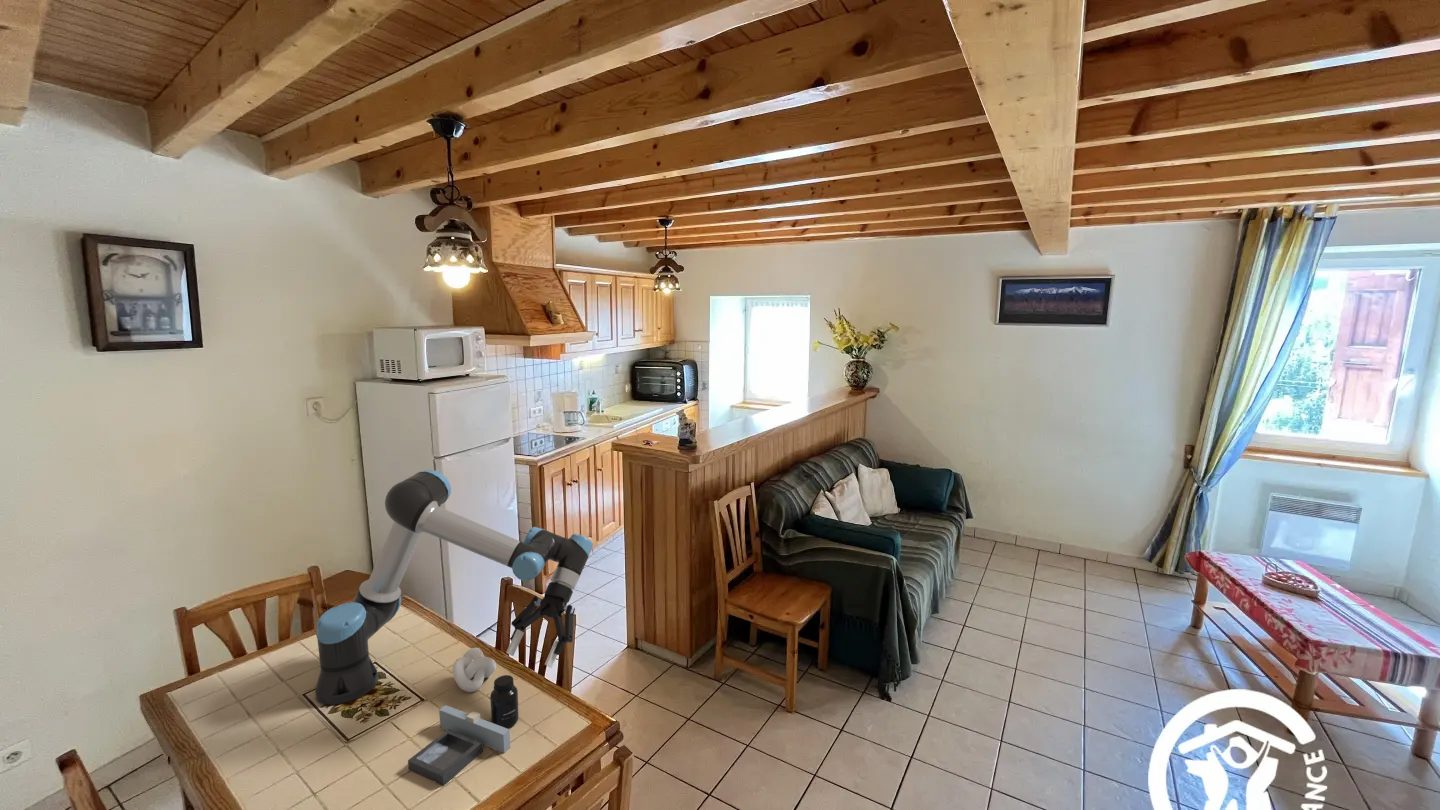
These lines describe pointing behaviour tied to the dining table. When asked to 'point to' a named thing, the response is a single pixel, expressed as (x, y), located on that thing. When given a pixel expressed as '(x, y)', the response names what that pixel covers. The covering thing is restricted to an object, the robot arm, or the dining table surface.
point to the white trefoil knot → (472, 669)
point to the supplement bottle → (504, 702)
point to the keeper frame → (445, 756)
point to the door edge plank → (475, 728)
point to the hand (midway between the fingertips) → (528, 660)
